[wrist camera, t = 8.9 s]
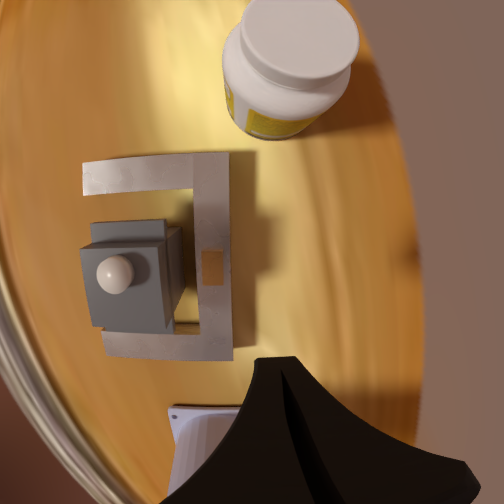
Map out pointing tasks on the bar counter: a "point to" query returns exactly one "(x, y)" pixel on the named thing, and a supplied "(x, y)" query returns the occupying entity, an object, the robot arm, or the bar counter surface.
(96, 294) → the servo block
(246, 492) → the robot arm
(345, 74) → the supplement bottle
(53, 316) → the bar counter surface
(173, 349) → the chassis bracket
